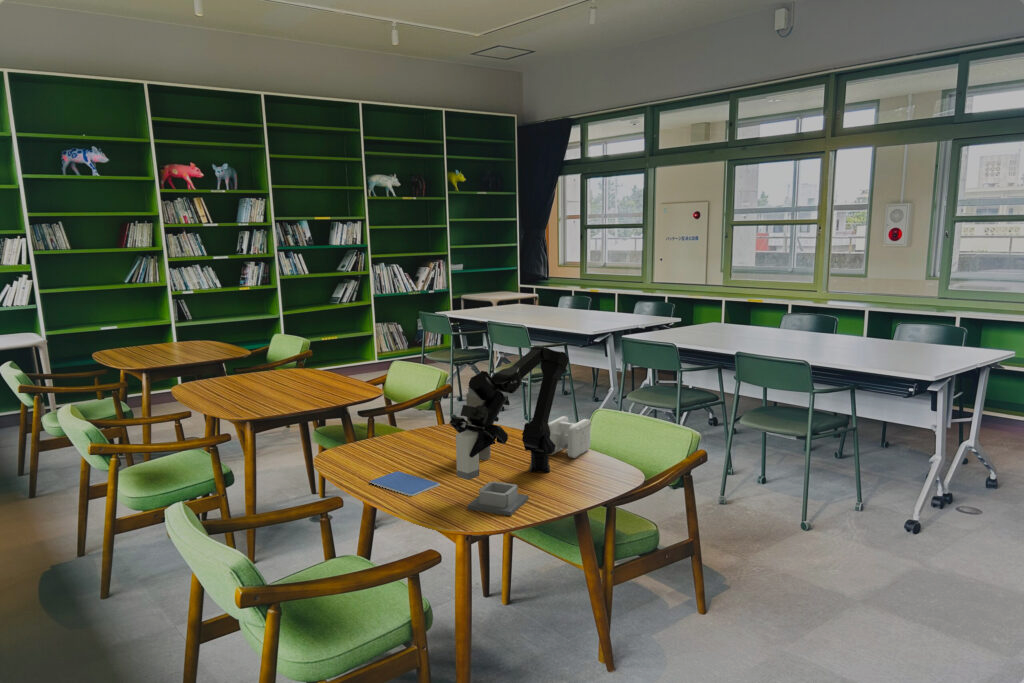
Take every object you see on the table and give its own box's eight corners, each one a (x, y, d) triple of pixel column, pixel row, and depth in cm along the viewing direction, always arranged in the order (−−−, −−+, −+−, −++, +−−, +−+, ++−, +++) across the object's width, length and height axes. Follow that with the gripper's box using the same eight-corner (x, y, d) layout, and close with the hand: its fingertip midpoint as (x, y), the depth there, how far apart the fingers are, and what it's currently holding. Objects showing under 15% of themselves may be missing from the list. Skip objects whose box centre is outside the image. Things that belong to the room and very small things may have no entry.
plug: (467, 472, 195) (467, 430, 193) (479, 475, 192) (478, 433, 191) (456, 476, 192) (455, 434, 190) (468, 480, 189) (467, 436, 187)
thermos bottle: (488, 461, 227) (487, 379, 223) (465, 460, 228) (463, 379, 224) (492, 454, 235) (491, 375, 231) (469, 453, 236) (468, 374, 232)
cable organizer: (565, 445, 244) (565, 414, 243) (592, 449, 239) (592, 417, 237) (545, 456, 232) (545, 423, 230) (573, 461, 226) (573, 427, 225)
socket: (487, 493, 198) (487, 477, 197) (528, 499, 192) (528, 483, 192) (467, 509, 186) (467, 492, 185) (510, 516, 181) (510, 499, 180)
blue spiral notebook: (441, 486, 205) (441, 482, 205) (411, 499, 195) (411, 494, 195) (397, 474, 216) (397, 470, 216) (367, 485, 207) (367, 481, 206)
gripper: (452, 389, 198) (426, 434, 191) (500, 398, 186) (474, 446, 179) (472, 410, 205) (446, 454, 198) (519, 420, 193) (494, 467, 186)
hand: (464, 455), depth 190 cm, fingers closed on plug, 4 cm apart
